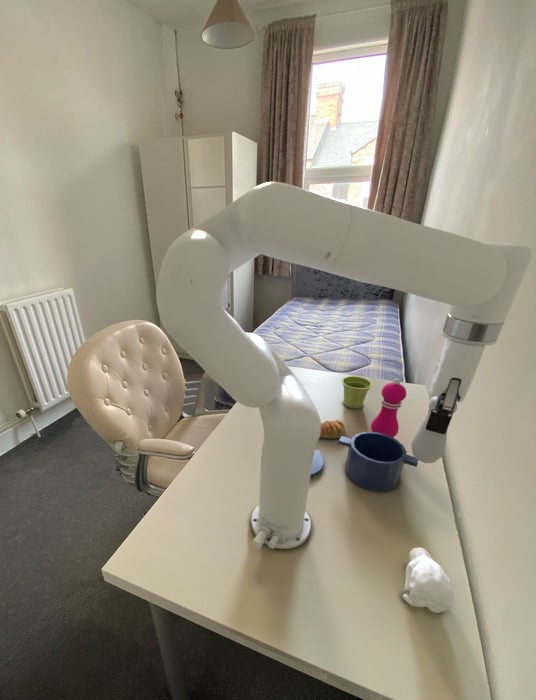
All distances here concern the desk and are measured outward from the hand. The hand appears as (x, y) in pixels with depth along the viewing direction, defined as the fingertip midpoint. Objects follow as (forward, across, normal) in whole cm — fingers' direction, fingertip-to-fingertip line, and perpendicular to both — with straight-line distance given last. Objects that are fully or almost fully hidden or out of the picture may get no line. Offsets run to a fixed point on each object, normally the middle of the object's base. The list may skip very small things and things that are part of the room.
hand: (436, 423), depth 62 cm
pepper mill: (+24, -26, -9) cm, 37 cm away
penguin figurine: (+24, +16, +5) cm, 30 cm away
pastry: (+24, -22, -23) cm, 40 cm away
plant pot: (+24, -43, -21) cm, 54 cm away
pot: (+24, -10, -9) cm, 28 cm away
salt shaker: (+8, 0, 0) cm, 8 cm away
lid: (+24, -5, -27) cm, 36 cm away
